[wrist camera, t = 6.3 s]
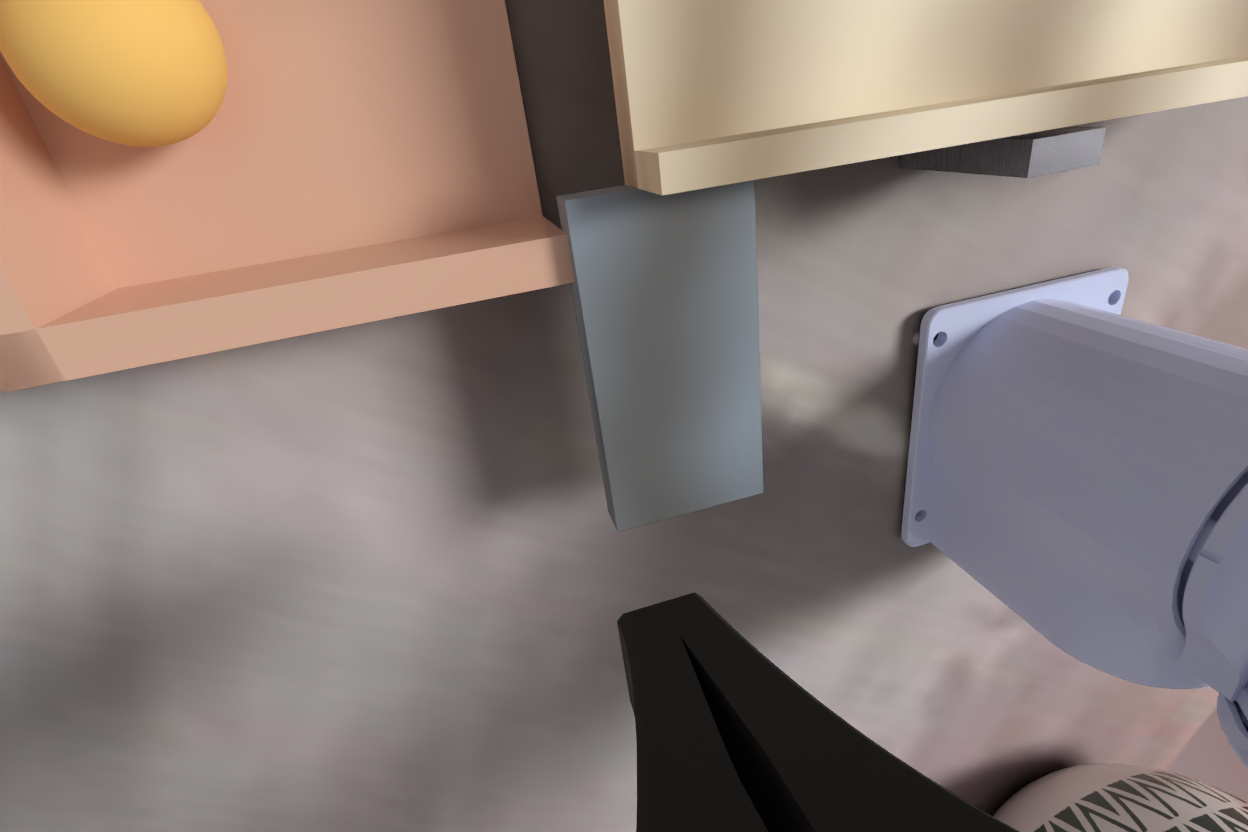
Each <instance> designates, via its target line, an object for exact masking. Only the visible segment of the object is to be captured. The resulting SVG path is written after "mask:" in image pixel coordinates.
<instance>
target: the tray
mask: <svg viewBox="0 0 1248 832" xmlns="http://www.w3.org/2000/svg"><path fill="white" fill-rule="evenodd" d="M199 1H200V2H201V4H202V5H203V7H204V8H205V10H206V11H207V13H208V14H209V16H210V18H211V19H212V21H213V23H214V25H215V27H216V29H217V31H218V33H219V36H220V38H221V41H222V44H223V48H224V51H225V56H226V61H227V88H226V92H225V96H224V99H223V102H222V105H221V107H220V109H219V110H218V112H217V114H216V115H215V117H214V118H213V119H212V120H211V122H210V123H209V124H208V125H207V126H206V127H205V128H203V129H202V130H201V131H199V132H198V133H197V134H195V135H193V136H192V137H190V138H188V139H185V140H183V141H180V142H177V143H174V144H170V145H164V146H152V147H140V146H129V145H124V144H119V143H114V142H111V141H108V140H104V139H101V138H98V137H95V136H93V135H91V134H88V133H86V132H84V131H82V130H80V129H78V128H76V127H74V126H73V125H71V124H69V123H67V122H65V121H64V120H63V119H61V118H60V117H58V116H57V115H55V114H54V113H52V112H51V111H50V110H48V109H47V108H46V107H45V106H44V105H43V104H42V103H40V102H39V101H38V100H37V99H36V98H35V97H34V96H33V95H32V94H31V93H30V92H29V91H28V90H27V89H26V88H25V87H24V85H23V84H22V83H21V82H20V81H19V80H18V78H17V77H16V75H15V74H14V72H13V71H12V69H11V68H10V66H9V65H8V63H7V62H6V60H5V58H4V56H3V55H2V53H1V50H0V389H1V391H2V393H6V392H11V391H16V390H21V389H27V388H32V387H37V386H42V385H47V384H52V383H58V382H63V381H68V380H73V379H78V378H83V377H88V376H94V375H99V374H104V373H109V372H114V371H119V370H125V369H130V368H135V367H140V366H145V365H150V364H156V363H161V362H166V361H171V360H176V359H181V358H187V357H192V356H197V355H202V354H207V353H212V352H218V351H223V350H228V349H233V348H238V347H243V346H249V345H254V344H259V343H264V342H269V341H274V340H280V339H285V338H290V337H295V336H300V335H305V334H311V333H316V332H321V331H326V330H331V329H336V328H342V327H347V326H352V325H357V324H362V323H367V322H373V321H378V320H383V319H388V318H393V317H398V316H404V315H409V314H414V313H419V312H424V311H429V310H435V309H440V308H445V307H450V306H455V305H460V304H466V303H471V302H476V301H481V300H486V299H491V298H497V297H502V296H507V295H512V294H517V293H522V292H528V291H533V290H538V289H543V288H548V287H553V286H559V285H564V284H569V283H574V276H573V269H572V263H571V257H570V251H569V245H568V239H567V234H566V233H564V232H563V231H562V230H561V229H559V228H558V227H557V226H556V225H554V224H553V223H552V222H550V221H549V220H548V219H546V218H545V217H544V216H543V214H542V208H541V202H540V197H539V191H538V185H537V180H536V174H535V168H534V163H533V157H532V151H531V146H530V140H529V135H528V129H527V123H526V118H525V112H524V106H523V101H522V95H521V89H520V84H519V78H518V72H517V67H516V61H515V55H514V50H513V44H512V38H511V33H510V27H509V22H508V16H507V10H506V5H505V0H199Z"/></svg>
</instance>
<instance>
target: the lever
mask: <svg viewBox="0 0 1248 832" xmlns="http://www.w3.org/2000/svg"><path fill="white" fill-rule="evenodd" d="M604 9H605V17H606V26H607V35H608V43H609V52H610V60H611V69H612V77H613V86H614V94H615V103H616V111H617V120H618V128H619V137H620V145H621V154H622V163H623V171H624V180H625V185H620V186H614V187H608V188H602V189H596V190H590V191H584V192H578V193H572V194H565V195H559V196H556V198H557V204H558V210H559V216H560V222H561V228H562V231H563V232H564V233H566V234H567V239H568V245H569V251H570V257H571V263H572V269H573V276H574V283H571V289H572V295H573V301H574V307H575V313H576V319H577V325H578V331H579V337H580V343H581V349H582V355H583V361H584V368H585V374H586V380H587V386H588V392H589V398H590V404H591V410H592V416H593V422H594V428H595V434H596V440H597V446H598V452H599V458H600V464H601V470H602V476H603V482H604V488H605V494H606V500H607V507H608V511H609V514H610V516H611V518H612V520H613V523H614V525H615V527H616V529H617V532H620V531H624V530H628V529H631V528H635V527H639V526H642V525H646V524H650V523H654V522H657V521H661V520H665V519H668V518H672V517H676V516H679V515H683V514H687V513H691V512H694V511H698V510H702V509H705V508H709V507H713V506H716V505H720V504H724V503H728V502H731V501H735V500H739V499H742V498H746V497H750V496H753V495H757V494H761V493H764V491H763V456H762V422H761V387H760V353H759V318H758V284H757V249H756V215H755V180H757V179H762V178H768V177H774V176H780V175H786V174H792V173H798V172H804V171H810V170H815V169H821V168H827V167H833V166H839V165H845V164H851V163H857V162H862V161H868V160H874V159H880V158H886V157H892V156H898V155H904V154H910V153H915V152H921V151H927V150H933V149H939V148H945V147H951V146H957V145H963V144H968V143H974V142H980V141H986V140H992V139H998V138H1004V137H1010V136H1016V135H1021V134H1027V133H1033V132H1039V131H1045V130H1051V129H1057V128H1063V127H1069V126H1074V125H1080V124H1086V123H1092V122H1098V121H1104V120H1110V119H1116V118H1122V117H1127V116H1133V115H1139V114H1145V113H1151V112H1157V111H1163V110H1169V109H1175V108H1180V107H1186V106H1192V105H1198V104H1204V103H1210V102H1216V101H1222V100H1227V99H1233V98H1239V97H1245V96H1248V0H604Z"/></svg>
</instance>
